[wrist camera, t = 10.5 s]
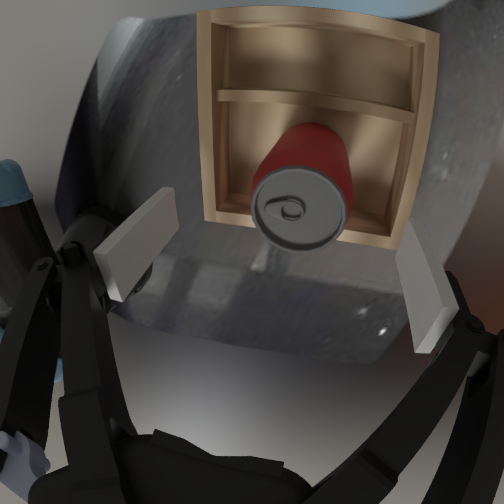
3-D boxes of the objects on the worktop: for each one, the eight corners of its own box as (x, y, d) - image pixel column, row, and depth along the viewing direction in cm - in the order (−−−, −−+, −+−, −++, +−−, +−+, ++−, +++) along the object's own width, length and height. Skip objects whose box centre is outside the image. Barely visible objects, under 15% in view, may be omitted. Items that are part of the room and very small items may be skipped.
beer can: (277, 118, 24) (239, 152, 15) (350, 125, 23) (365, 165, 13) (276, 183, 28) (242, 253, 19) (342, 191, 27) (346, 268, 17)
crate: (222, 198, 31) (204, 220, 28) (219, 19, 20) (196, 11, 16) (390, 223, 28) (398, 250, 24) (421, 39, 16) (439, 33, 13)
